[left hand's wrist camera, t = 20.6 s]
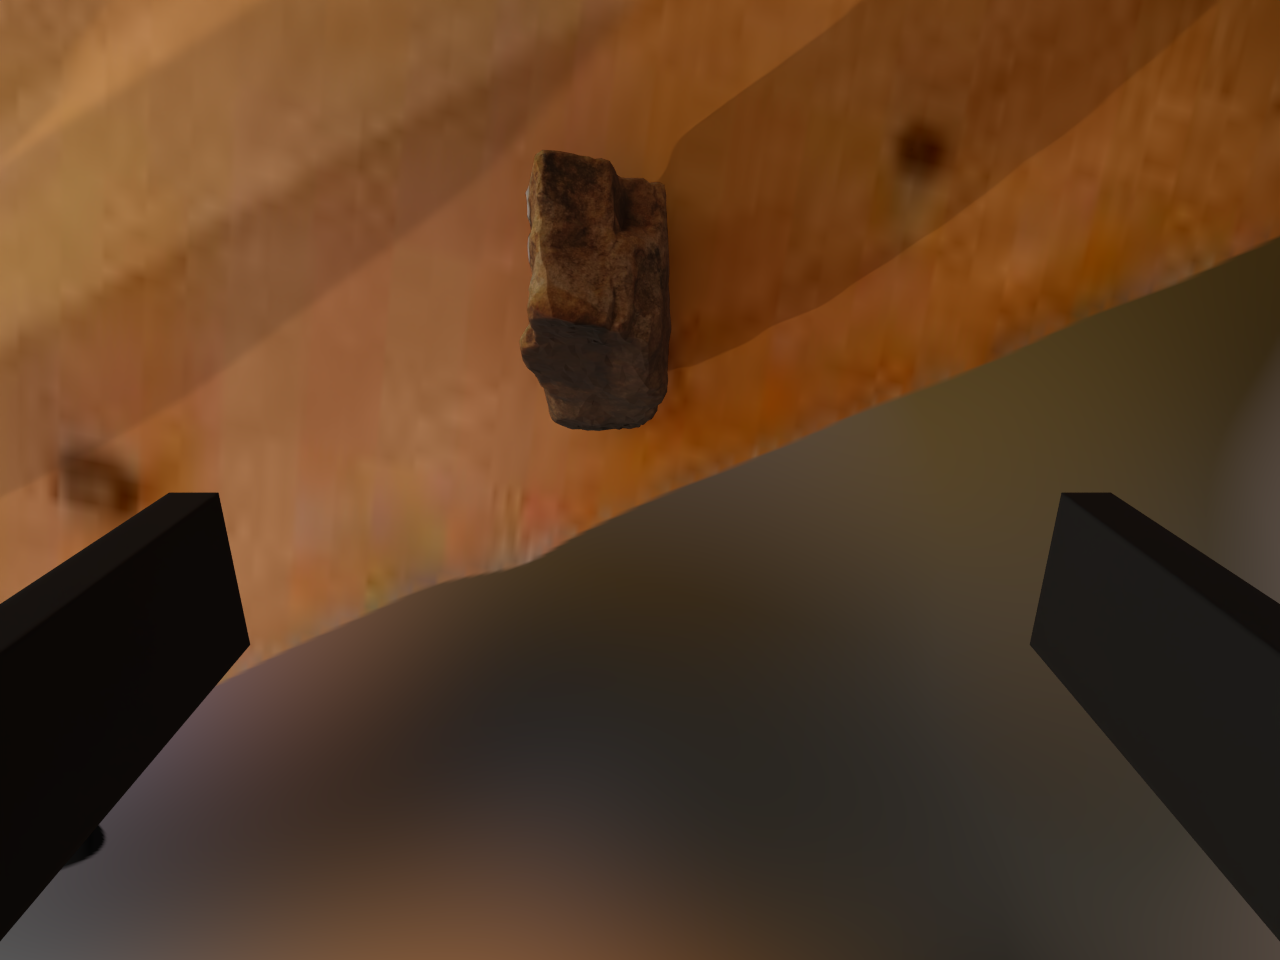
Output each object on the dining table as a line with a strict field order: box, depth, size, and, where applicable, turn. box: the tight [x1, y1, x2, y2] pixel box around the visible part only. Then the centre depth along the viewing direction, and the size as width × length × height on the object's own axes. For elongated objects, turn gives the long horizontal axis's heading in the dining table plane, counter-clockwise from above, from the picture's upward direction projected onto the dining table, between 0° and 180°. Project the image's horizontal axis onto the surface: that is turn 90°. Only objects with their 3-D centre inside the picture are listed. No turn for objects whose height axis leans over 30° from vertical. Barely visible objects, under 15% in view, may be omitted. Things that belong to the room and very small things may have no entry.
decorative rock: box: [519, 150, 671, 431], centre depth 32 cm, size 12×6×11 cm, turn 176°
